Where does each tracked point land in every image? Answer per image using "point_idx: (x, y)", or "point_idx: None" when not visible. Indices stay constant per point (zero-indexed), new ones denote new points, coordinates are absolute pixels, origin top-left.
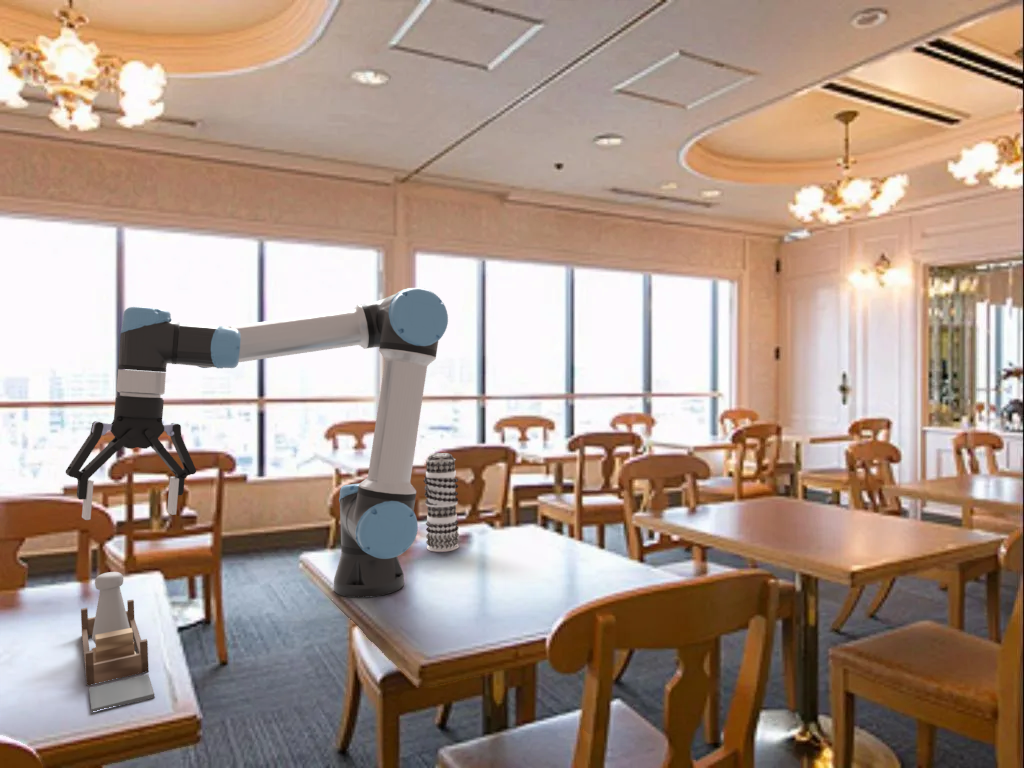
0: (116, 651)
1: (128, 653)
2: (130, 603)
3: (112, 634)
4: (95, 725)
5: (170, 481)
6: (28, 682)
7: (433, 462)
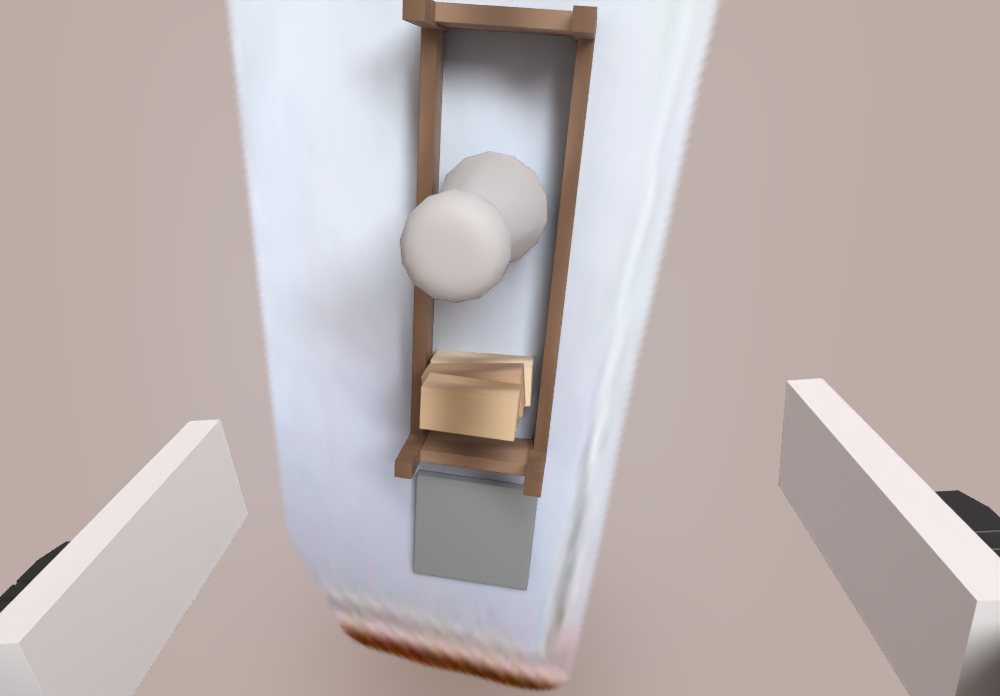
0: None
1: None
2: (581, 33)
3: (462, 419)
4: (418, 612)
5: (934, 586)
6: (301, 318)
7: None
